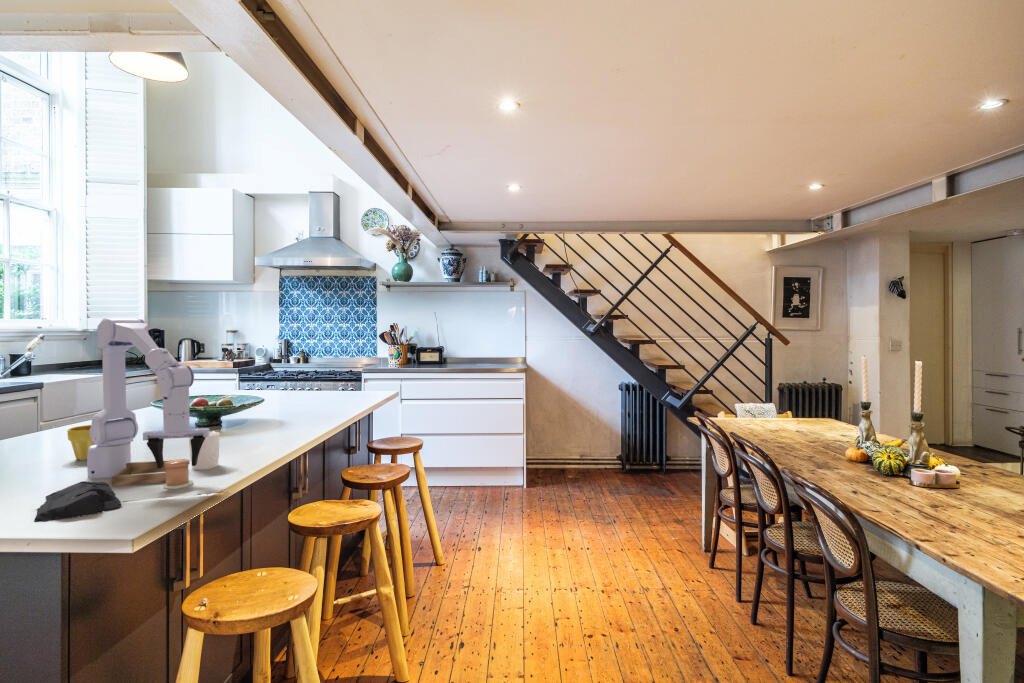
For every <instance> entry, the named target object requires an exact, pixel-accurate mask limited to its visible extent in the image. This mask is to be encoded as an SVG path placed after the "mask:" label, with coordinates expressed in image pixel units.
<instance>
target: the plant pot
mask: <svg viewBox="0 0 1024 683" xmlns="http://www.w3.org/2000/svg"><path fill="white" fill-rule="evenodd" d="M90 428H91V424H88V425H87V424H86V425H80V426H74V427H73V426H72V427H70V428H68V429H67V430H66V431H67V439H68V441H70V443H71V446H72V450H73V453H74V456H75V459H87V453H88V450H89V448H90V446H92V445H96V444H95V443H94V442H93V441H92V440H91V438H90Z"/></svg>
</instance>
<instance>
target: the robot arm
mask: <svg viewBox="0 0 1024 683" xmlns="http://www.w3.org/2000/svg"><path fill="white" fill-rule="evenodd" d="M96 328H97V330H96V332H97V333H96V334H97V336H96V338H97V347H98V348H99V349H101V351H102V352H101V353H102V385H103V386H102V391H103V392H102V395H103V396H102V398H103V399H102V400H103V409H101V410H100V411H99V412H97V413H96V414H94V415H93V416H92V418H91V424H90V425H91V428H90V438H91V440H92V441H93V442H94V443H95V444H96V445H92V446H90V448H89V450H88V453H87V460H86V467H87V478H86V480H88V479H89V480H90V479H91V480H92V479H101V478H102V479H103V478H104V479H105V478H112V476H114V475H115V474H117V473H118V472H120V471H121V470H123V469H124V468H126V463H131V462H132V454H131V449H132V448H131V442H134V439H135V438H136V437H137V435H138V433H139V424H138V422H137V418H136V413H135V412H133V411H132V410H131V409H129V408H127V386H126V385H127V384H126V383H127V382H126V381H127V380H126V352H127V351H128V350H129V349H130V348H132V347H135V348H136V349H138V351H140V352H141V353H142V354H143V355H144V356H145V359H144V362H145V364H146V366H148V368H150V370H151V371H152V372H153V373H154V374H155V375H156V376H157V378H156V381H157V385H158V388H159V392H160V393H159V394H160V396H161V397H162V412H163V413H162V414H163V415H162V416H163V429H161V430H150V431H147V430H146V431H144V432H143V433H142V441H147V442H146V445H147V448H148V449H149V450H150V451H151V453H152V456H153V458H154V461H156V463H157V467H158V468H162V467H163V460H164V454H163V453H164V440H167V439H169V440H170V439H185V438H186V439H187V438H189V437H193V438H192V439H191V448H192V465H191V467H192V466H195V465H196V464H197V459H198V455H199V452H200V449H201V446H202V444H203V442H204V440H205V438H206V437H208V436H209V432H210V428H207V427H205V428H204V427H203V428H196V427H193V428H192V427H191V426H190V424H191V423H190V420H191V419H190V388H191V386H193V384H194V381H195V375H194V371H193V369H192V368H191V366H190V365H187V364H184V363H181V364H180V362H179V361H178V360H177V359H176V358H175V357H174V356H173V355H172V354H171V353H170V352H169V350H168V349H167V348H165V347H164V348H163V347H159V346H158V345H157V343H156V342H155V341H154V339H153V338H152V337H151V335H150V334H149V325H148V323H147V322H146V321H145V320H144V319H143V318H107V317H106V318H102V320H101V321H100V322H99V324H98V325H97V327H96ZM190 427H191V428H190Z"/></svg>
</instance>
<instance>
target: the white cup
mask: <svg viewBox="0 0 1024 683" xmlns="http://www.w3.org/2000/svg"><path fill="white" fill-rule="evenodd" d="M220 434H221V433H220V432H218V431H209V436H208V437H206V438H205V440H204V442H203V444H202V446H201V449H200V452H199V455H198V459H197V464H196V465H195V466H192V448H191V439H192V438H193V437H188V445H189V457H190V458H189V459H190V464H191V465H190V466H191V469H192V470H197V471H199V470H200V471H201V470H208V469H213V468H216V467H218V466H219V457H220V436H221V435H220Z"/></svg>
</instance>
